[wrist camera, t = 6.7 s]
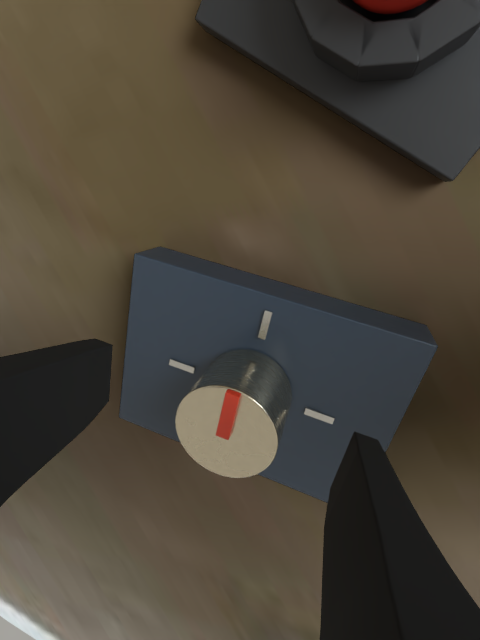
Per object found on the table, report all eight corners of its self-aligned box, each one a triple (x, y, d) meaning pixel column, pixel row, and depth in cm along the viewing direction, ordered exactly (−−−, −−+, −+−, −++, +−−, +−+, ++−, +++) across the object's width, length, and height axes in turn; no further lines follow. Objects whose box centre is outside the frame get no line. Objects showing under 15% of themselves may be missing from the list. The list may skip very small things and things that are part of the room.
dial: (279, 439, 18) (261, 499, 14) (200, 409, 19) (164, 459, 15) (303, 366, 16) (289, 414, 13) (215, 336, 17) (179, 374, 14)
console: (427, 325, 16) (439, 347, 14) (355, 479, 20) (354, 517, 18) (159, 246, 19) (131, 253, 17) (141, 395, 23) (116, 419, 21)
